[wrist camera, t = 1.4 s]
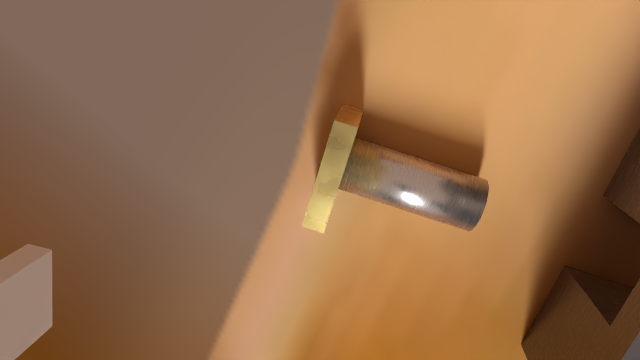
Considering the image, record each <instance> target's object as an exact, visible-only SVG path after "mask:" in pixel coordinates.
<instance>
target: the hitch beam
mask: <svg viewBox="0 0 640 360" xmlns="http://www.w3.org/2000/svg"><path fill="white" fill-rule="evenodd" d="M603 196H604V197H605V198H607V199H608V200H609V201H611V202H612V203H613V204H615V205H616V206H617V207H619V208H620V209H621V210H622V211H624V212H625V213H626V214H628V215H629V216H630V217H632V218H633V219H634V220H636V221H637V222H638V223H640V130H639V131H638V133H637V135H636V137H635V139H634V140H633V142H632V144H631V146H630V148H629V150H628V151H627V153H626V155H625V157H624V159H623V161H622V162H621V164H620V166H619V168H618V170H617V171H616V173H615V175H614V177H613V179H612V181H611V182H610V184H609V186H608V188H607V190H606V191H605V193H604V195H603ZM522 348H523V350H524V352H525V355H526V357H527V359H528V360H640V279H639V281H638V282H637V284H636V285H635V287H634V288H631V287H628V286H625V285H622V284H619V283H616V282H612V281H609V280H606V279H603V278H600V277H597V276H594V275H591V274H588V273H585V272H582V271H579V270H576V269H573V268H570V267H566V266H564V268H563V270H562V272H561V274H560V275H559V277H558V279H557V281H556V283H555V284H554V286H553V288H552V290H551V292H550V294H549V295H548V297H547V299H546V301H545V303H544V304H543V306H542V308H541V310H540V312H539V314H538V315H537V317H536V319H535V321H534V323H533V325H532V326H531V328H530V330H529V332H528V334H527V335H526V337H525V339H524V341H523V343H522Z"/></svg>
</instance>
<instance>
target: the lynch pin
mask: <svg viewBox="0 0 640 360" xmlns="http://www.w3.org/2000/svg"><path fill="white" fill-rule="evenodd" d="M362 113H363V110H361V109H358V108H355V107H352V106H349V105H345V104H343V106H342V108H341V109H340V111H339V113H338V114H337V116H336V118H335V120H334V122H333V126H332V129H331V132H330V135H329V139H328V142H327V145H326V148H325V152H324V155H323V158H322V161H321V165H320V168H319V171H318V175H317V178H316V181H315V184H314V188H313V191H312V194H311V197H310V201H309V204H308V207H307V210H306V214H305V217H304V220H303V223H302V226H303V227H306V228H309V229H312V230H315V231H318V232H321V233H324V231H325V228H326V225H327V222H328V218H329V215H330V212H331V209H332V206H333V203H334V200H335V197H336V194H337V191H338V189H340V190H343V191H346V192H349V193H352V194H356V195H359V196H362V197H365V198H368V199H371V200H374V201H377V202H380V203H383V204H386V205H389V206H392V207H395V208H399V209H402V210H405V211H408V212H411V213H414V214H417V215H420V216H423V217H426V218H429V219H432V220H435V221H439V222H442V223H445V224H448V225H451V226H454V227H457V228H460V229H463V230H466V231H471V230H472V229H473V228H474V227H475V226H476V225H477V223H478V221H479V220H480V218H481V216H482V213H483V211H484V208H485V205H486V202H487V197H488V191H489V185H488V181H487V180H486V179H483V178H480V177H477V176H474V175H471V174H468V173H465V172H461V171H458V170H455V169H452V168H449V167H446V166H443V165H440V164H436V163H433V162H430V161H427V160H424V159H421V158H418V157H415V156H411V155H408V154H405V153H402V152H399V151H396V150H393V149H390V148H387V147H383V146H380V145H377V144H374V143H371V142H368V141H365V140H362V139H358V138H355V136H356V133H357V130H358V127H359V123H360V120H361V116H362Z"/></svg>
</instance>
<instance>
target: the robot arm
mask: <svg viewBox="0 0 640 360" xmlns="http://www.w3.org/2000/svg"><path fill="white" fill-rule="evenodd" d="M52 317H53V316H52V250H51V249H47V248H43V247H39V246H35V245H31V244H26V245H25V246H23V247H21V248H20V249H18V250H17V251H15V252H13V253H11V254H10V255H8V256H6V257H5V258H3V259H1V260H0V360H15V359H16V358H17V357H18V356H19V355H20V354H22V353H23V352H24V351H25V350H26V349H27V348H28V347H29V346H31V345H32V344H33V343H34V342H35V341H36V340H37V339H39V338H40V337H41V336H42V335H43V334H44V333H45V332H46V331H47V330H49V329H50V328H51V327H52V326H53V325H52V324H53V320H52Z"/></svg>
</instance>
